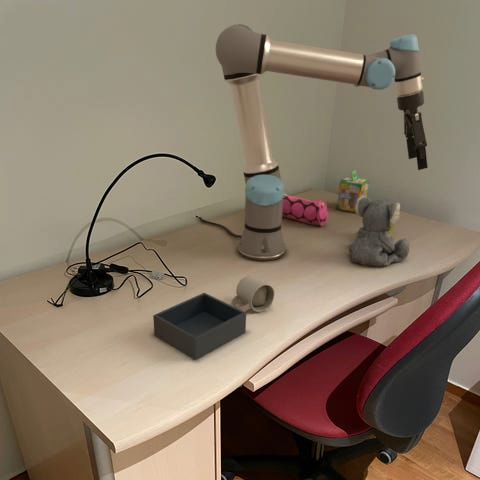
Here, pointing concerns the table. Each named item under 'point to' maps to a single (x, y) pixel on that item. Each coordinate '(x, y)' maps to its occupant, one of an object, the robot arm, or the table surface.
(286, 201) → the pencil case
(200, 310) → the bin
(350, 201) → the chalk box
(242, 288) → the ceramic mug
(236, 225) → the table surface
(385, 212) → the koala plush
